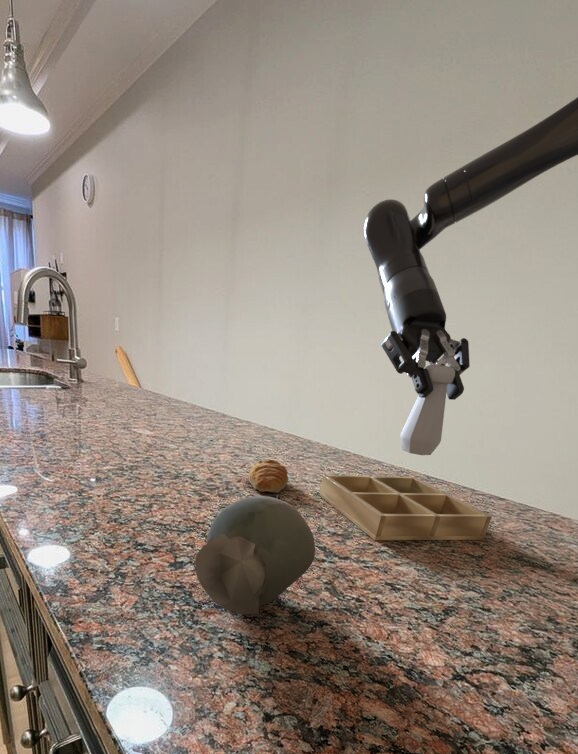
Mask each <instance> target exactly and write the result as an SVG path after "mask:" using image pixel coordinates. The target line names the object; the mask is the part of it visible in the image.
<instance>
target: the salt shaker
mask: <svg viewBox="0 0 578 754" xmlns="http://www.w3.org/2000/svg"><path fill="white" fill-rule="evenodd" d="M424 369H428V372H429V376H430V379H431V382H432V385H433V391H432V392H431V393H430V394H429V395H428V396H427V397H426V398H420V397H419V394H418V396H417V398H416V400H415V402H414V404H413V406H412V408H411V411H410V413H409V414H408V417H407V419H406V421H405V423H404V426H403V428H402V429H401V432H400V436H399V438H400V445H401V450H402V451H403V452H406V453H408V454H411V455H417V456H418V455H419V456H431V455H432V454H433V453H434V452H435V450H436V449H437V447H438V446H439V445H440V443H441V441H442V435H443V426H444V416H445V411H446V410H445V409H446V399H447V384H450V383H452V382H453V380H454V377H455V370H454V368H452V367H450V366H449V365H445V366H442V365H430V364H429V365H427V366H425V367H424Z"/></svg>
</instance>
